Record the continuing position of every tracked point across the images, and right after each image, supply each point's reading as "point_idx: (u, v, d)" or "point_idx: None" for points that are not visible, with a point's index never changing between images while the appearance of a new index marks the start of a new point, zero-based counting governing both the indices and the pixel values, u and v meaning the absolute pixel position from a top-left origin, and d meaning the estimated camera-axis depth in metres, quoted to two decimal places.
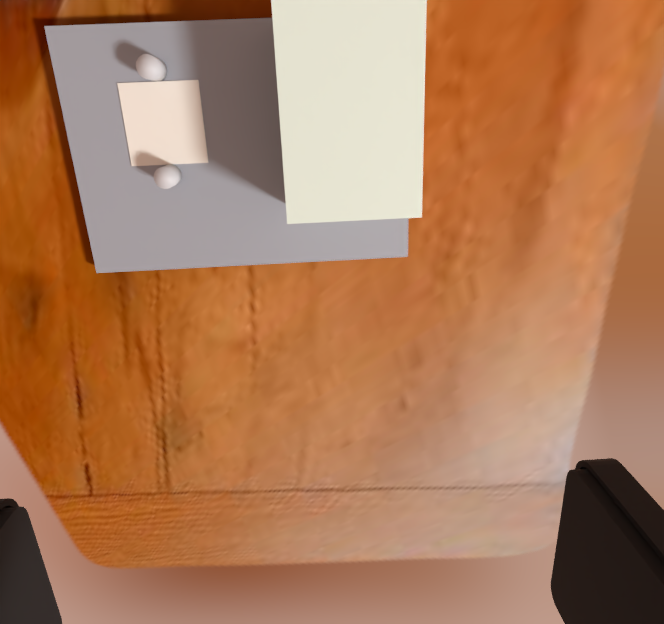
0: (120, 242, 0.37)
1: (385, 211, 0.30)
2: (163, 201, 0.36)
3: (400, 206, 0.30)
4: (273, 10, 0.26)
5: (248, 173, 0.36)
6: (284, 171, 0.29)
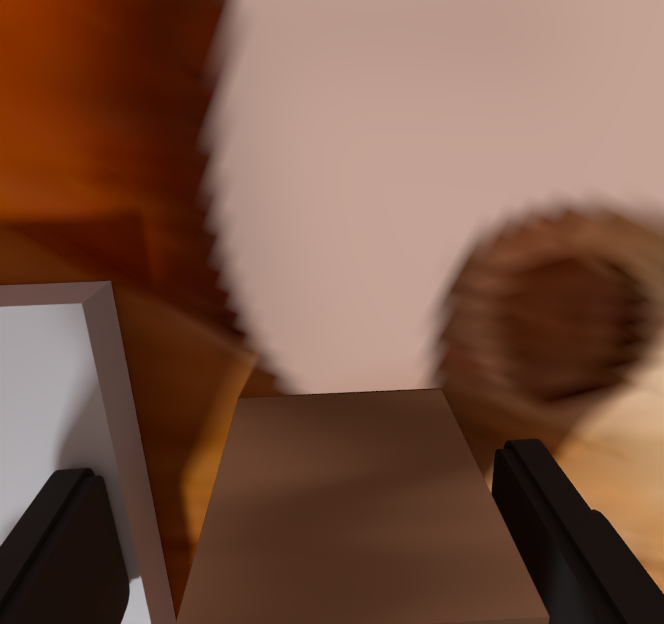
0: None
1: None
2: None
3: None
4: None
5: None
6: None
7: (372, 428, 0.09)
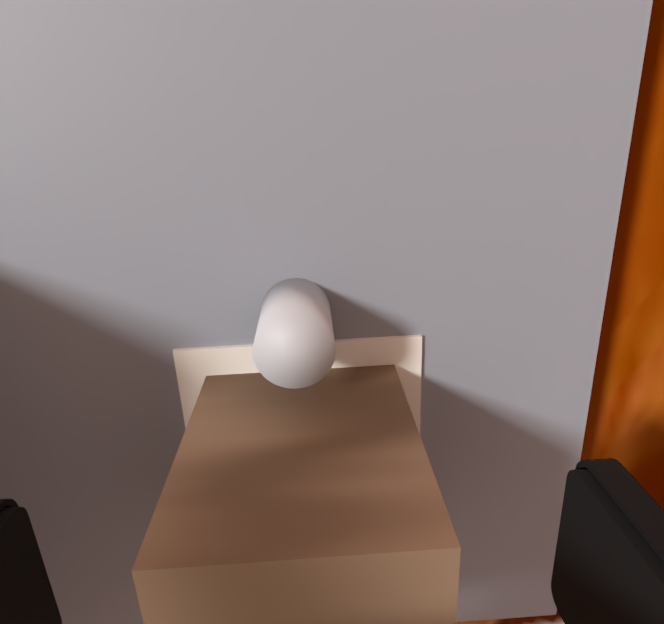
0: (526, 55, 0.09)
1: None
2: (334, 222, 0.10)
3: None
4: None
5: (33, 318, 0.10)
6: None
7: (326, 400, 0.10)
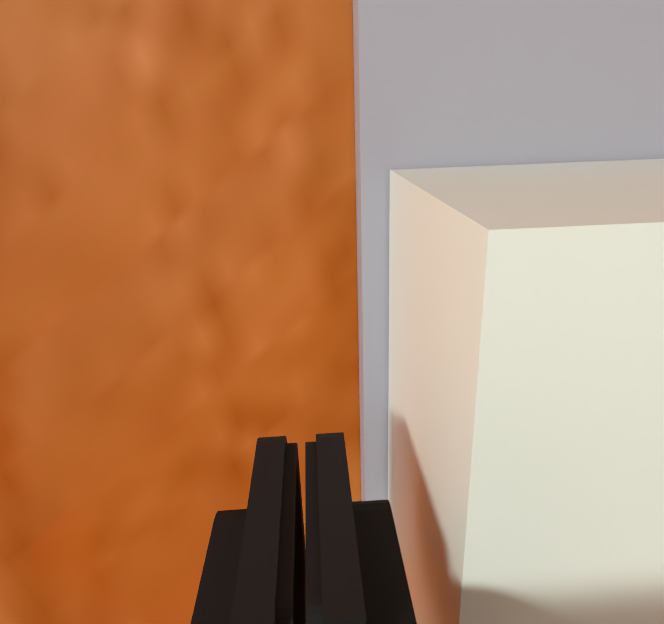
0: None
1: None
2: None
3: (598, 288, 0.06)
4: None
5: None
6: None
7: None
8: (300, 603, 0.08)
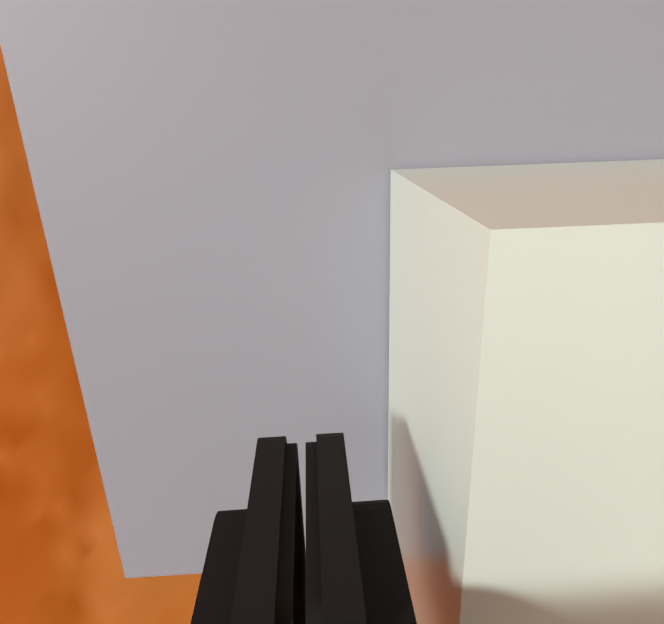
0: None
1: None
2: None
3: (600, 288, 0.06)
4: None
5: None
6: None
7: None
8: (300, 603, 0.08)
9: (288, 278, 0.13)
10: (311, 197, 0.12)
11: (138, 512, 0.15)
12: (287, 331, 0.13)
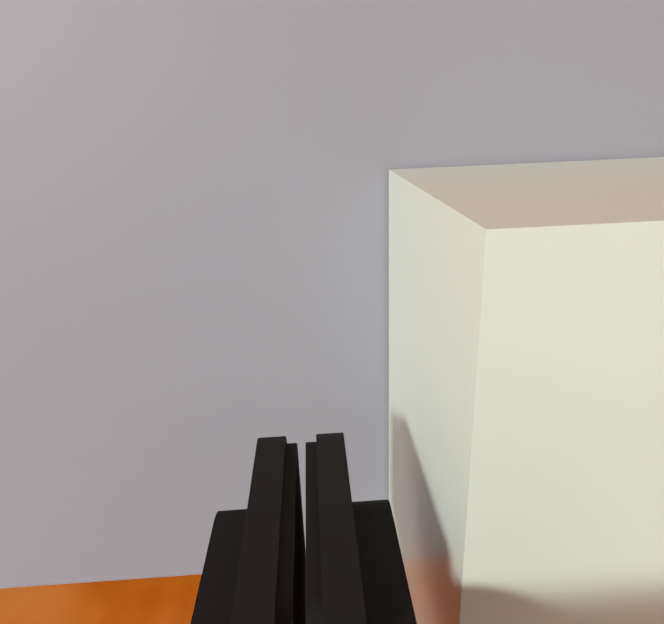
0: None
1: None
2: None
3: (596, 287, 0.06)
4: None
5: (290, 273, 0.12)
6: None
7: None
8: (300, 603, 0.08)
9: (54, 291, 0.12)
10: (64, 209, 0.12)
11: None
12: (62, 344, 0.13)
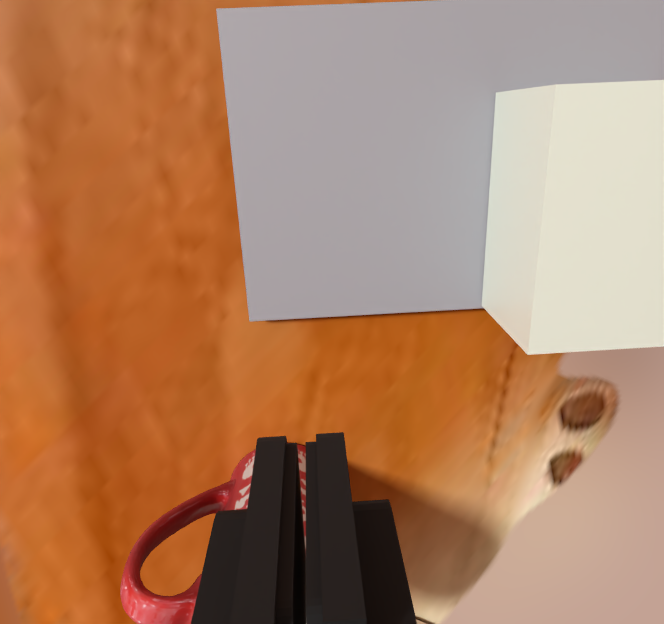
0: (638, 42, 0.26)
1: (609, 94, 0.20)
2: None
3: (586, 102, 0.20)
4: None
5: (445, 143, 0.27)
6: None
7: None
8: (300, 603, 0.08)
9: (338, 150, 0.27)
10: (349, 110, 0.26)
11: (259, 280, 0.29)
12: (337, 178, 0.27)
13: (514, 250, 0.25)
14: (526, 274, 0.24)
